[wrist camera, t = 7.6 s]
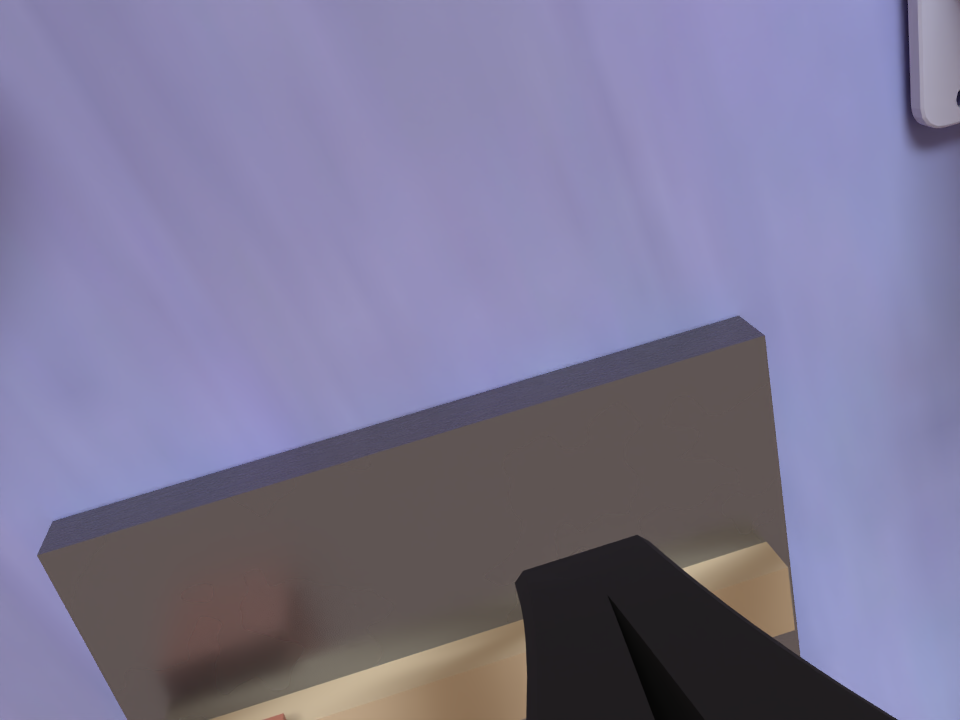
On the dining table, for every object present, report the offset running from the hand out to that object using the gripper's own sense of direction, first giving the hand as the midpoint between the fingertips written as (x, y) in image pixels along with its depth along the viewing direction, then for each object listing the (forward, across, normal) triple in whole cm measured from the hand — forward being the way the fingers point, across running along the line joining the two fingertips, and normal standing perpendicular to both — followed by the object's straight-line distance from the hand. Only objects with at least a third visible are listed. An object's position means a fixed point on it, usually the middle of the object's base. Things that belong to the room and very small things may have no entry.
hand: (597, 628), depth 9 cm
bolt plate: (+10, +2, +9) cm, 13 cm away
